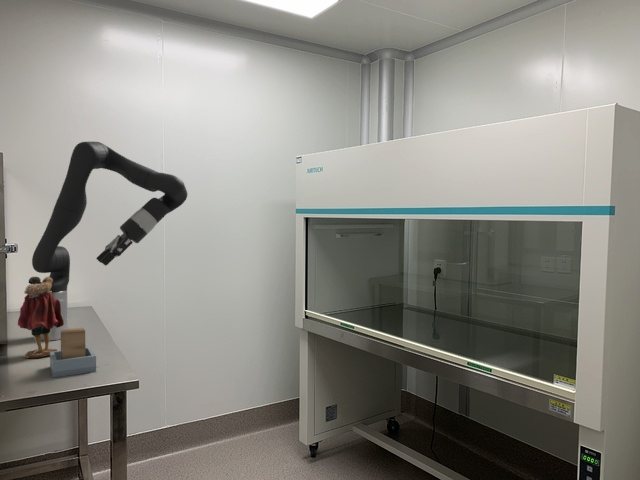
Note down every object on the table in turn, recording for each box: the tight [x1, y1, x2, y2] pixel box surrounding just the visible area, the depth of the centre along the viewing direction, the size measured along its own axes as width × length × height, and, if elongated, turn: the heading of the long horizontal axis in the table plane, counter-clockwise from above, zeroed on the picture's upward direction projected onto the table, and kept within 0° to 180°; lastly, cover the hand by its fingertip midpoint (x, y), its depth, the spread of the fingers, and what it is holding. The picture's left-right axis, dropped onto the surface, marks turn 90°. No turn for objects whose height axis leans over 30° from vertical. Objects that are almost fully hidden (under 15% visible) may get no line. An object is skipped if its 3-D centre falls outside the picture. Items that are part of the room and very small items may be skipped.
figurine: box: [17, 276, 64, 359], centre depth 157 cm, size 12×11×25 cm
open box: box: [49, 346, 97, 378], centre depth 144 cm, size 11×11×4 cm
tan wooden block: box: [60, 326, 86, 360], centre depth 144 cm, size 5×6×10 cm
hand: (100, 262), depth 152 cm, fingers open, 8 cm apart
